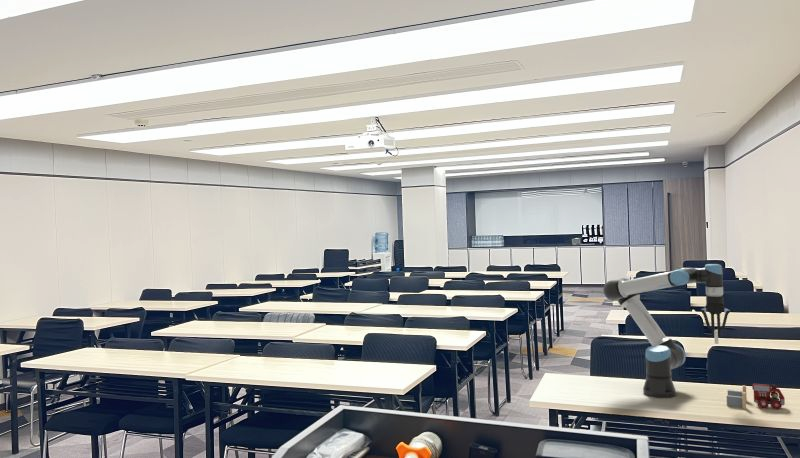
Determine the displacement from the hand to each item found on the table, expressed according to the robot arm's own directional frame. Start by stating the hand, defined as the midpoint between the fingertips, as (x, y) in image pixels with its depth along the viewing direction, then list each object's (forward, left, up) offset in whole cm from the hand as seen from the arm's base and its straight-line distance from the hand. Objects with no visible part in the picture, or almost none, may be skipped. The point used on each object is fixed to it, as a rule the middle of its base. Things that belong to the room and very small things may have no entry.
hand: (716, 343), depth 279 cm
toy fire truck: (+21, -8, -27) cm, 35 cm away
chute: (+7, -8, -26) cm, 29 cm away
